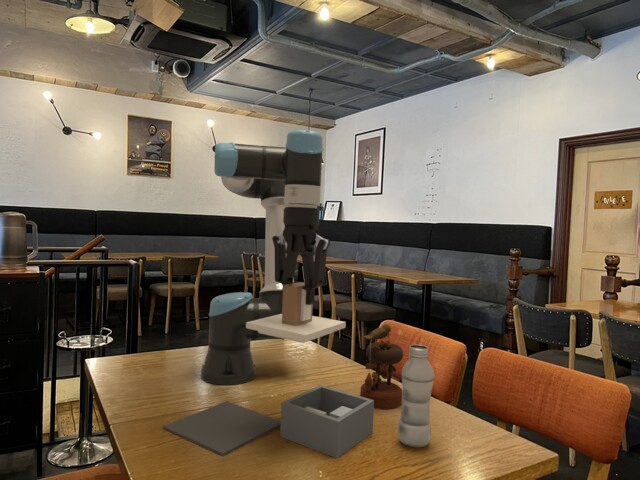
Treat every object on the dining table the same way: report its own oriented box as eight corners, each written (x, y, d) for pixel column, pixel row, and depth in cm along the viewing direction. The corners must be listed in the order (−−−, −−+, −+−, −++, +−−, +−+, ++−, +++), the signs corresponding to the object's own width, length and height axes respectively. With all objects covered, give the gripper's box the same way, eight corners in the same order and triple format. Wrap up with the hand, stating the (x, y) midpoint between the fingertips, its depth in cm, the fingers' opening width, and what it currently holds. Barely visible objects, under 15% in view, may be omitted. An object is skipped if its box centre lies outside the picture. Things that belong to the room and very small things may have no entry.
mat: (162, 428, 96) (162, 425, 96) (226, 403, 111) (226, 401, 111) (222, 456, 86) (222, 453, 86) (284, 424, 101) (284, 421, 101)
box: (280, 436, 95) (281, 402, 95) (319, 414, 106) (320, 385, 106) (337, 458, 87) (338, 421, 87) (372, 432, 98) (374, 400, 98)
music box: (388, 415, 107) (386, 329, 108) (349, 407, 114) (346, 326, 114) (416, 397, 120) (413, 320, 120) (378, 390, 126) (376, 317, 127)
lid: (245, 332, 95) (247, 283, 94) (289, 321, 107) (291, 277, 107) (305, 346, 87) (307, 292, 86) (345, 332, 99) (347, 285, 99)
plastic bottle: (393, 436, 97) (398, 342, 96) (425, 436, 97) (429, 343, 97) (401, 451, 90) (406, 351, 90) (435, 451, 91) (440, 351, 90)
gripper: (259, 204, 97) (255, 314, 98) (325, 206, 88) (320, 327, 89) (281, 206, 103) (277, 309, 104) (345, 208, 94) (340, 321, 95)
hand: (297, 317), depth 97 cm, fingers closed on lid, 3 cm apart
